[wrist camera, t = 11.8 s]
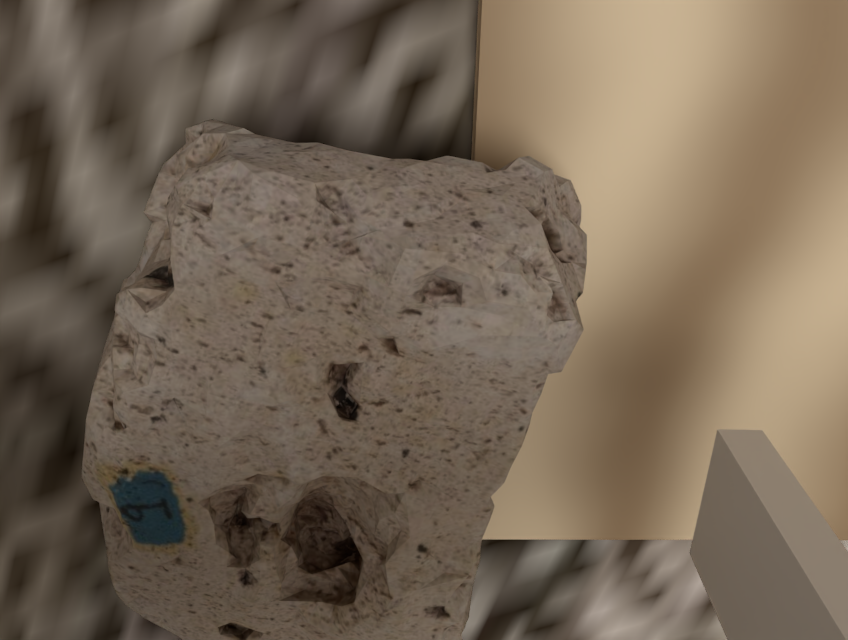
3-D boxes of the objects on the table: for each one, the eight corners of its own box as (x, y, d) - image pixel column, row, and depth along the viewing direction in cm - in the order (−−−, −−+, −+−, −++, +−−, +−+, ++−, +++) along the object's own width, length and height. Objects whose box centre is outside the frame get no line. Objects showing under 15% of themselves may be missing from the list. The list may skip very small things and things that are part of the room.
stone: (430, 745, 18) (5, 641, 17) (440, 545, 23) (108, 446, 21) (780, 369, 11) (60, 99, 9) (690, 181, 15) (202, -22, 14)
